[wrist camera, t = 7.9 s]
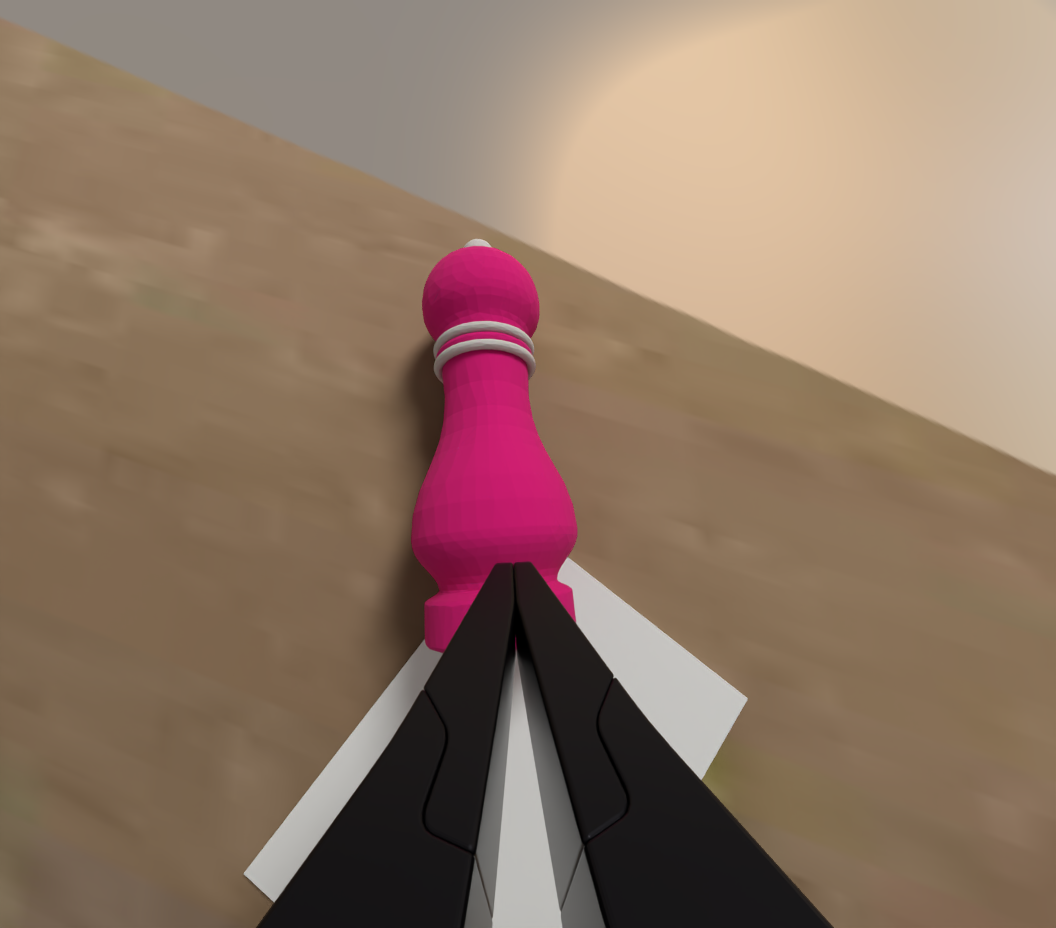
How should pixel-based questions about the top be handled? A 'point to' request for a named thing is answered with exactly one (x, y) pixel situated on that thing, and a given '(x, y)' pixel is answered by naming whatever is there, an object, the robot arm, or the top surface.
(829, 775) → the top surface
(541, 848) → the rubber mat
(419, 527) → the pepper mill
